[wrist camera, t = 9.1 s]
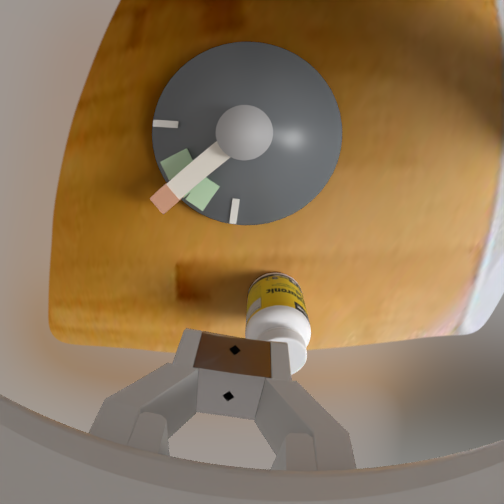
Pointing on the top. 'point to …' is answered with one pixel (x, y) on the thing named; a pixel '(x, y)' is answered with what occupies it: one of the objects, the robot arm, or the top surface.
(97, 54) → the top surface
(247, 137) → the needle
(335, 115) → the dial plate
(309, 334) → the supplement bottle
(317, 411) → the robot arm
